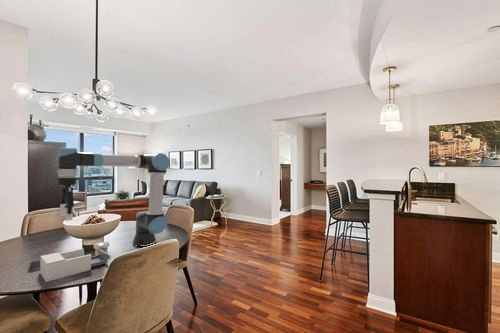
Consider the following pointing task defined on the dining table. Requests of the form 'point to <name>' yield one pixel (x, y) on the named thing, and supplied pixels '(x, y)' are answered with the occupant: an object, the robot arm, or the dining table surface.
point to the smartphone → (34, 266)
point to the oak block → (98, 251)
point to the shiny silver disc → (101, 245)
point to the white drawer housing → (64, 264)
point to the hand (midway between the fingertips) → (65, 218)
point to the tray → (99, 258)
